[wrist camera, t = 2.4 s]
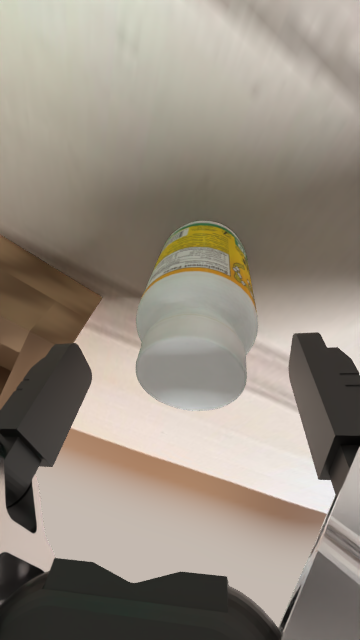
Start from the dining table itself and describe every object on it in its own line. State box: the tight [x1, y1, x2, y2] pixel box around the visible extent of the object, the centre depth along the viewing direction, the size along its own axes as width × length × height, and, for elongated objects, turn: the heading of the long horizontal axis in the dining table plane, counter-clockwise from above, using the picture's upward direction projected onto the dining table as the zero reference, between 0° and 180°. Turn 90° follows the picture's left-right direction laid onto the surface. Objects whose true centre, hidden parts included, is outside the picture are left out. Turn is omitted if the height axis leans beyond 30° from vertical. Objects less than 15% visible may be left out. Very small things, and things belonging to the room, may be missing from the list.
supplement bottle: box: [136, 221, 258, 411], centre depth 13 cm, size 5×5×10 cm
